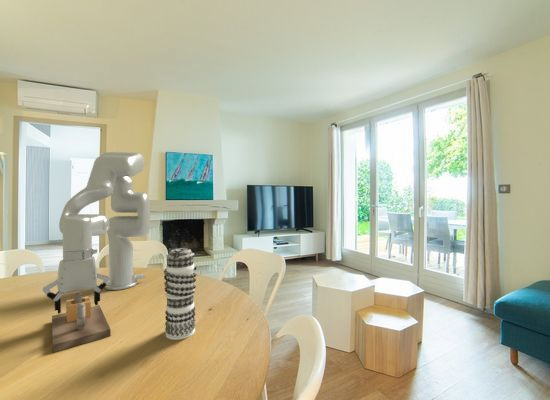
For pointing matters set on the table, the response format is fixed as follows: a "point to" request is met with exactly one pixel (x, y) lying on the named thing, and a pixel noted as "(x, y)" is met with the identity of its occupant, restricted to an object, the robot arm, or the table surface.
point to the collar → (72, 309)
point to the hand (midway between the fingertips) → (78, 307)
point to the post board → (79, 327)
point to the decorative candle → (180, 294)
